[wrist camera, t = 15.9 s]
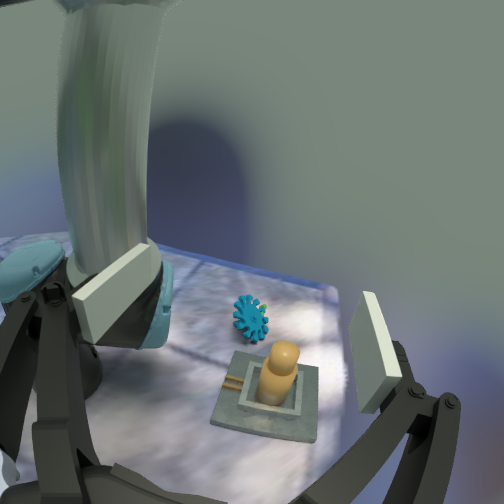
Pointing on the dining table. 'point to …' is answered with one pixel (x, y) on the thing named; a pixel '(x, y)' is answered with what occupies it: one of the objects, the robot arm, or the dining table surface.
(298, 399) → the junction box
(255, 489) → the dining table surface
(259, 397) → the stacked tan cylinders
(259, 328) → the gear
